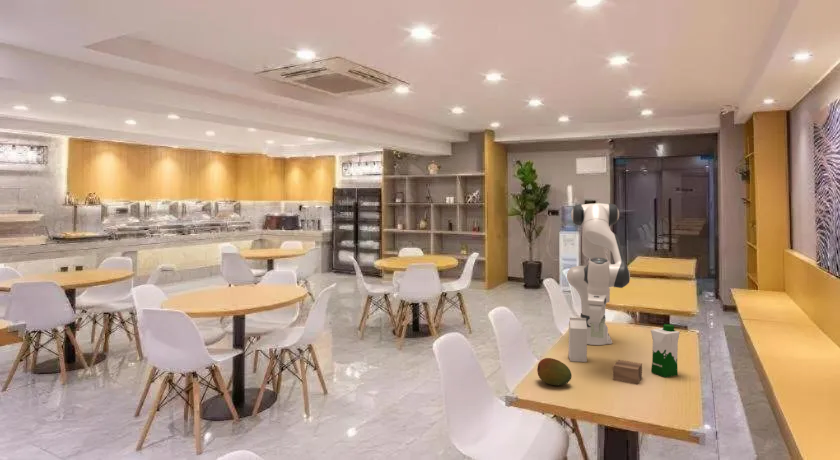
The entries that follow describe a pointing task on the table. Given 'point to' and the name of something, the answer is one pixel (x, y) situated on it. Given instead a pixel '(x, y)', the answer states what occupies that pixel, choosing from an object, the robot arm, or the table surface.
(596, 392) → the table surface
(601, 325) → the grey wooden block
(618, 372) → the walnut block
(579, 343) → the milk carton
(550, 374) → the fruit
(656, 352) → the soya milk
